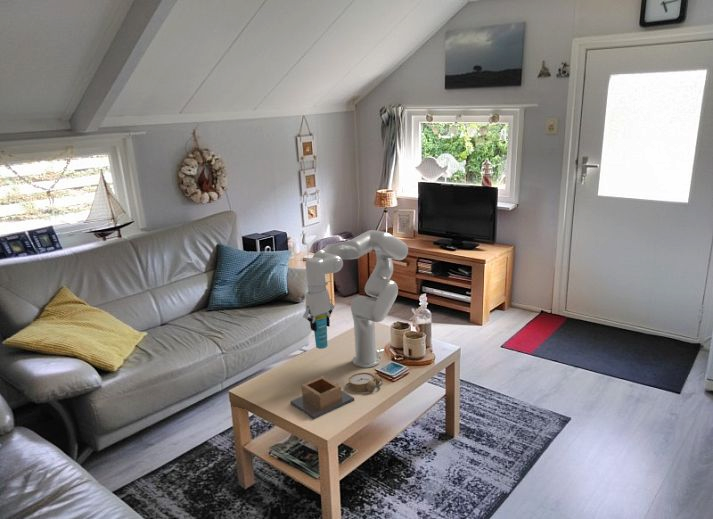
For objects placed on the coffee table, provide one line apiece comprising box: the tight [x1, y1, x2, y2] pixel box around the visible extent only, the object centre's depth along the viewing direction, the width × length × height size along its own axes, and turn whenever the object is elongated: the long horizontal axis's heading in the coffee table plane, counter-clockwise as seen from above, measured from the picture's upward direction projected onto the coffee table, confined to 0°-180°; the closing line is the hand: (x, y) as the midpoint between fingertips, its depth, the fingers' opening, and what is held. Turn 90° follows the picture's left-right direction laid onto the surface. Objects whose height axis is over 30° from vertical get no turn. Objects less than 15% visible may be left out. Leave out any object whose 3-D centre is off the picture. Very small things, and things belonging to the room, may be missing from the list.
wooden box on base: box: [290, 376, 355, 420], centre depth 221 cm, size 20×16×7 cm
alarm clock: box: [346, 371, 384, 392], centre depth 233 cm, size 11×5×15 cm
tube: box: [312, 313, 329, 350], centre depth 231 cm, size 7×5×19 cm, turn 123°
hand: (320, 327), depth 232 cm, fingers closed on tube, 6 cm apart
